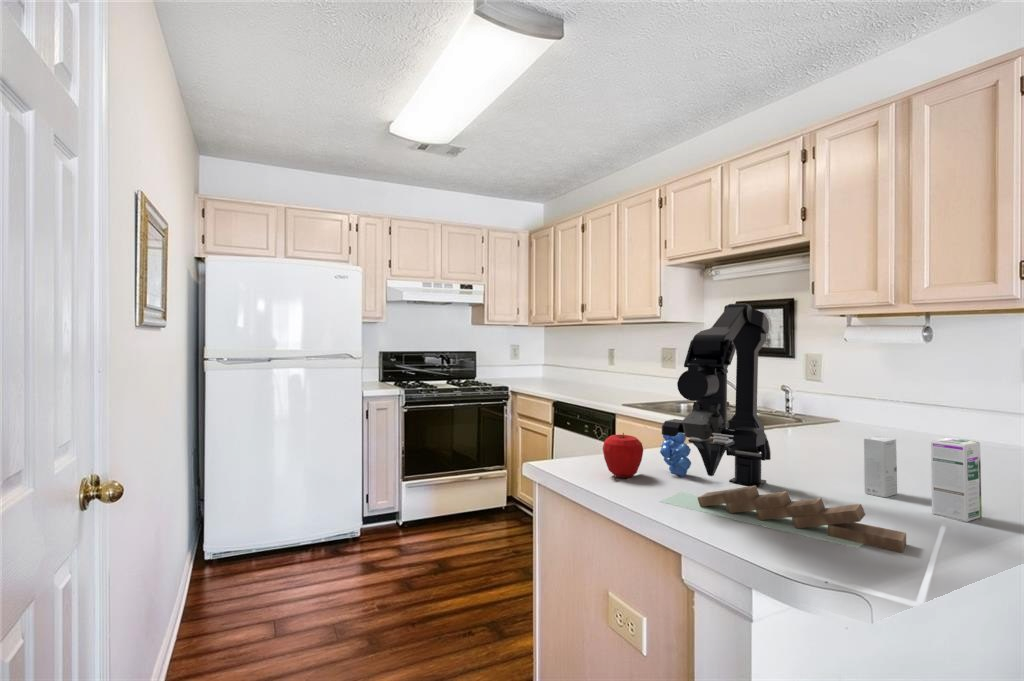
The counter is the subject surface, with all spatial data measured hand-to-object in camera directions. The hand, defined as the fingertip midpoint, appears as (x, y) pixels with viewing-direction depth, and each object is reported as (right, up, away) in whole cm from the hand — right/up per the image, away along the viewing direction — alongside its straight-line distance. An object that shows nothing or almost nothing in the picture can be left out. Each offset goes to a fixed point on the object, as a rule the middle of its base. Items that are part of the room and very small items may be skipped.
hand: (711, 475), depth 102 cm
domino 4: (+11, -5, -11) cm, 16 cm away
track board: (+6, -7, -6) cm, 11 cm away
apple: (-12, -7, +24) cm, 28 cm away
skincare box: (+42, -7, +11) cm, 44 cm away
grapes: (0, -7, +26) cm, 27 cm away
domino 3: (+7, -5, -7) cm, 11 cm away
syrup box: (+46, -7, -3) cm, 46 cm away
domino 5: (+15, -5, -14) cm, 21 cm away
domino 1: (-1, -5, +1) cm, 5 cm away
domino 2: (+3, -5, -3) cm, 6 cm away
